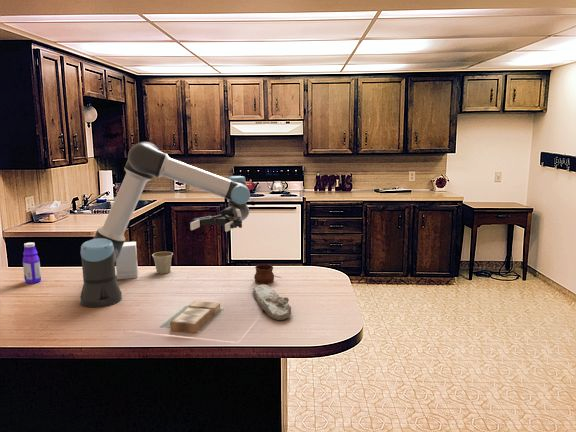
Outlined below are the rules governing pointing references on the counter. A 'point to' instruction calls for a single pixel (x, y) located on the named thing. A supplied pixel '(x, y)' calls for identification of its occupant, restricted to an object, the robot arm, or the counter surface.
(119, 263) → the supplement box
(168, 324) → the mat
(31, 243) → the bottle
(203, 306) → the tan wooden block
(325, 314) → the counter surface
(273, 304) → the elongated rock
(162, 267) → the flower pot
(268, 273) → the ceramic pot
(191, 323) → the slab
